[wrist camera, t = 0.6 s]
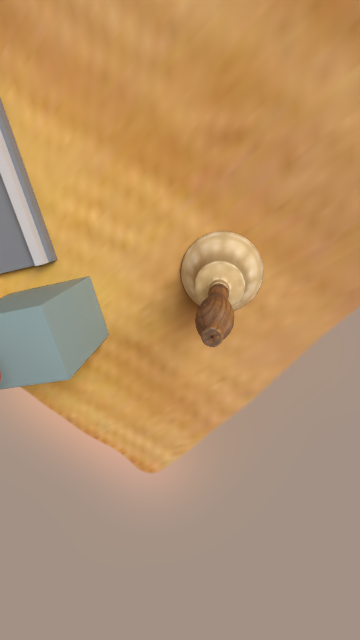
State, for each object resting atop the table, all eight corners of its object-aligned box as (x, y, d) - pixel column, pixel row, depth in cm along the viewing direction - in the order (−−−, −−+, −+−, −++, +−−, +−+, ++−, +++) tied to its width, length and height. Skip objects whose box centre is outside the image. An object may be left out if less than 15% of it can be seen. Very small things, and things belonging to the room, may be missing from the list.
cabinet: (6, 294, 40) (-64, 326, 31) (89, 276, 37) (40, 305, 28) (29, 348, 42) (-30, 393, 33) (108, 334, 40) (69, 379, 30)
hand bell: (278, 251, 33) (309, 302, 19) (241, 323, 37) (242, 414, 22) (200, 217, 34) (169, 240, 19) (169, 292, 37) (122, 362, 22)
